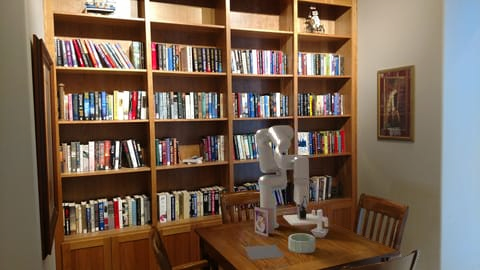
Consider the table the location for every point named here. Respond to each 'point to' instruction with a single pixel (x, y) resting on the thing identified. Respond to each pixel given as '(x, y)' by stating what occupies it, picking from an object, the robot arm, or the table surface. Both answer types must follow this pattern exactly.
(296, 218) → the lid
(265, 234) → the greeting card
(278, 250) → the mat
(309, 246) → the bowl
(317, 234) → the figurine
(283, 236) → the table surface
